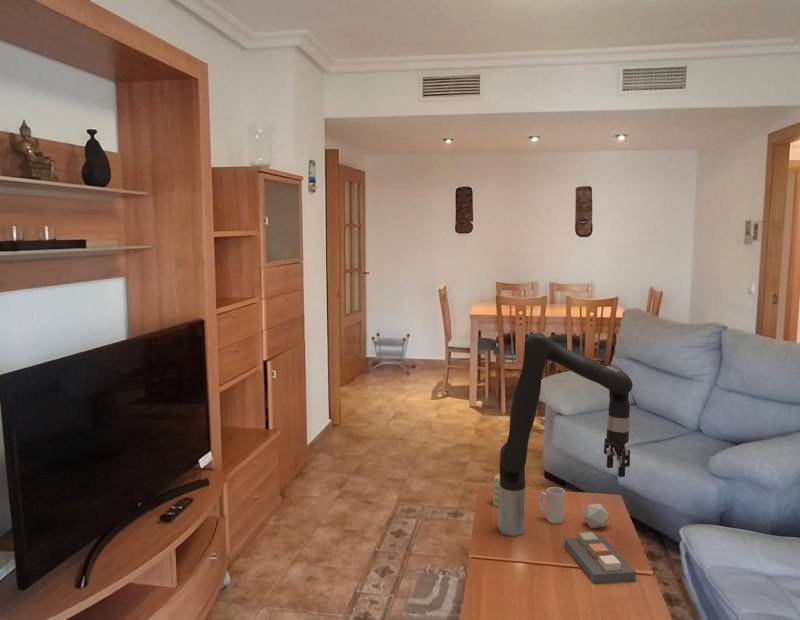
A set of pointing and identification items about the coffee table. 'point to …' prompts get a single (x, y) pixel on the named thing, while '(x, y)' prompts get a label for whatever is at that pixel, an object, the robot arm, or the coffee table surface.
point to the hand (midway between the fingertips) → (615, 472)
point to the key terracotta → (597, 550)
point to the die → (595, 516)
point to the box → (496, 490)
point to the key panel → (592, 566)
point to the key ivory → (609, 563)
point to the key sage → (587, 539)
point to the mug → (553, 504)
